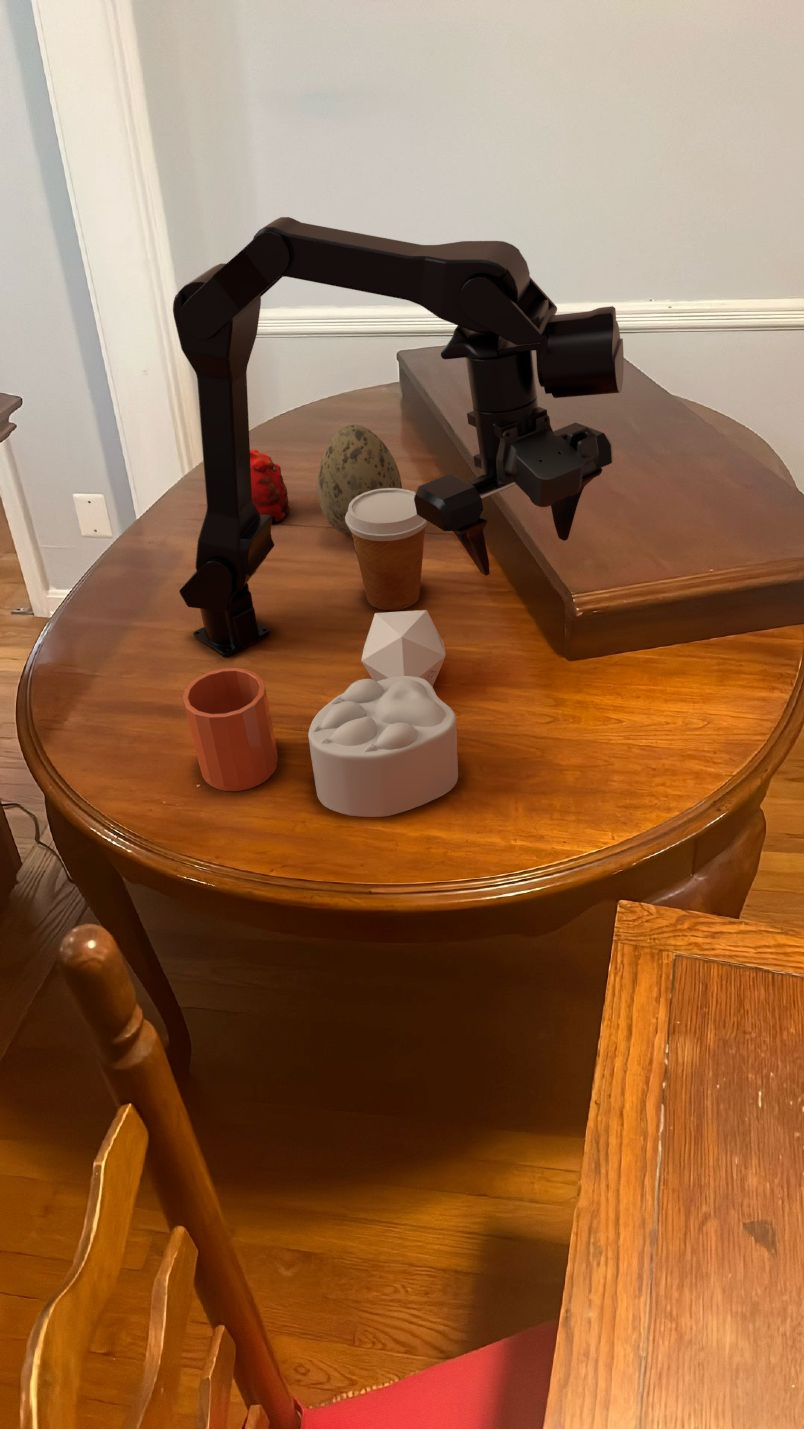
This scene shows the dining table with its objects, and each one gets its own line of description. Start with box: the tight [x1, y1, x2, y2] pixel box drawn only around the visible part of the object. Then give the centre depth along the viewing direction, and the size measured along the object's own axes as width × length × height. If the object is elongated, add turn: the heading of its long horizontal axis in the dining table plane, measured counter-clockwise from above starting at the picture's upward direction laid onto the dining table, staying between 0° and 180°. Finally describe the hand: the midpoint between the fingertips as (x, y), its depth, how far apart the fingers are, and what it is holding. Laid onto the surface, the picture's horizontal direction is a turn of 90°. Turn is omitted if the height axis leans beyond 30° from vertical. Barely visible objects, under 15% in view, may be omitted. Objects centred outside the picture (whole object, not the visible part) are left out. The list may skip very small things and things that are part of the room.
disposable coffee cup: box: [345, 488, 428, 611], centre depth 115 cm, size 10×10×12 cm
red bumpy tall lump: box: [250, 449, 290, 523], centre depth 133 cm, size 8×7×15 cm
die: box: [360, 609, 446, 688], centre depth 103 cm, size 8×9×10 cm
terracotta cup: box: [182, 667, 279, 792], centre depth 93 cm, size 7×7×9 cm
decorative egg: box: [317, 424, 403, 539], centre depth 126 cm, size 11×11×15 cm
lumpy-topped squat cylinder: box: [308, 676, 459, 818], centre depth 91 cm, size 10×13×9 cm
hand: (524, 556), depth 97 cm, fingers open, 9 cm apart
